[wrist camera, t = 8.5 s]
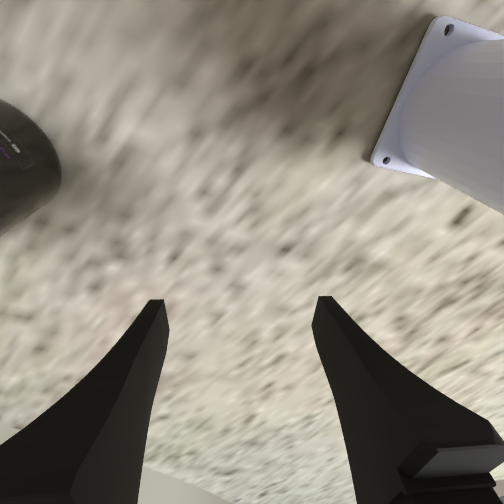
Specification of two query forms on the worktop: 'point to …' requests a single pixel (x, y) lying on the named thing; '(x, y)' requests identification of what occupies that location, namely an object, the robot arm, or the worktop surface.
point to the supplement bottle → (24, 167)
